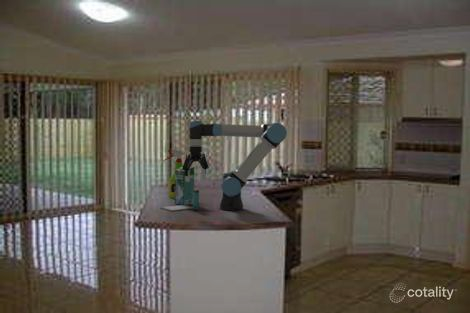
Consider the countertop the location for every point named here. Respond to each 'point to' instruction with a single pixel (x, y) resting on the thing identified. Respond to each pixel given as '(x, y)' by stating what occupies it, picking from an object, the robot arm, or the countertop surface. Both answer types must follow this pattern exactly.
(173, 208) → the writing board
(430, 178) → the countertop surface
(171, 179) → the spray bottle
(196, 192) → the teal and grey cylinder
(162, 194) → the countertop surface
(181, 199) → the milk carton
